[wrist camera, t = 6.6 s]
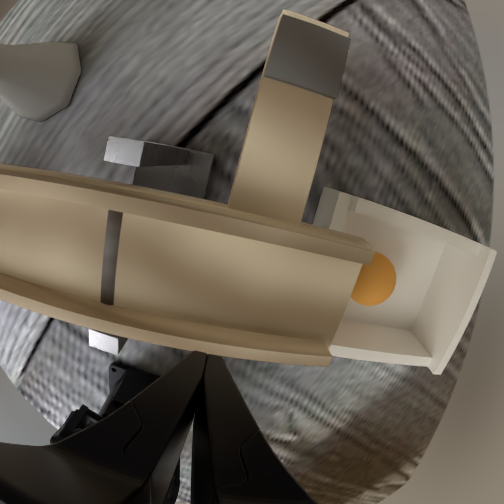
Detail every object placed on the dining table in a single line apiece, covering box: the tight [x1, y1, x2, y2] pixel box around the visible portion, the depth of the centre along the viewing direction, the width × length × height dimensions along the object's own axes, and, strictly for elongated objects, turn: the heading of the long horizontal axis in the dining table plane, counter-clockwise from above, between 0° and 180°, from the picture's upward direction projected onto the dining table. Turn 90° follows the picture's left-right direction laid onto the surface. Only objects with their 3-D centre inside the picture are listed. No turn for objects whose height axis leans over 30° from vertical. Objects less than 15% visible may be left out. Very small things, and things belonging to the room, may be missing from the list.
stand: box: [89, 136, 215, 355], centre depth 16 cm, size 10×5×9 cm, turn 166°
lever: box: [0, 10, 375, 367], centre depth 11 cm, size 15×22×6 cm
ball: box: [351, 252, 396, 306], centre depth 19 cm, size 4×4×4 cm
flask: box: [0, 42, 81, 122], centre depth 12 cm, size 7×7×10 cm
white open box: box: [312, 186, 497, 375], centre depth 19 cm, size 10×12×6 cm
